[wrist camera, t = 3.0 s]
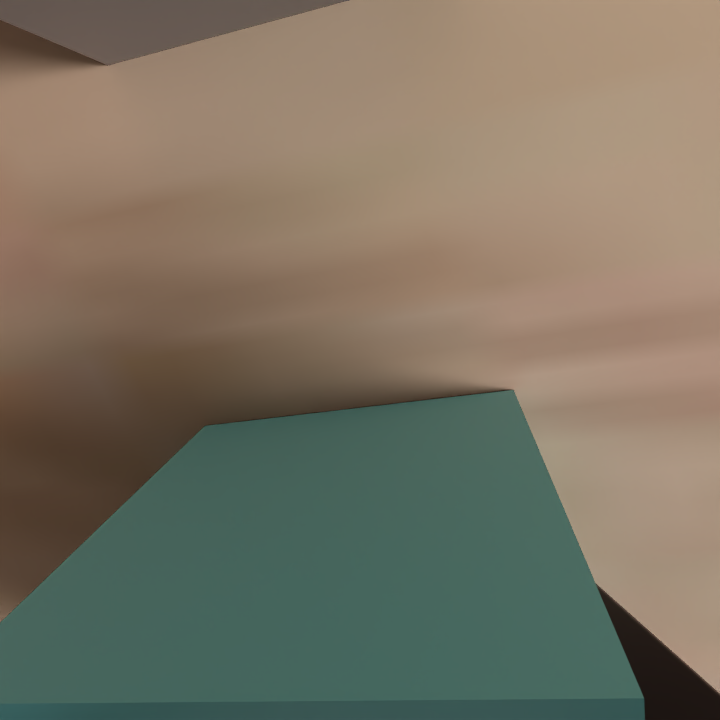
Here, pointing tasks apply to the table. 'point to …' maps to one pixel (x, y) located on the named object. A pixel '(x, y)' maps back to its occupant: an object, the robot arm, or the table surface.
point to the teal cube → (329, 582)
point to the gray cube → (142, 22)
